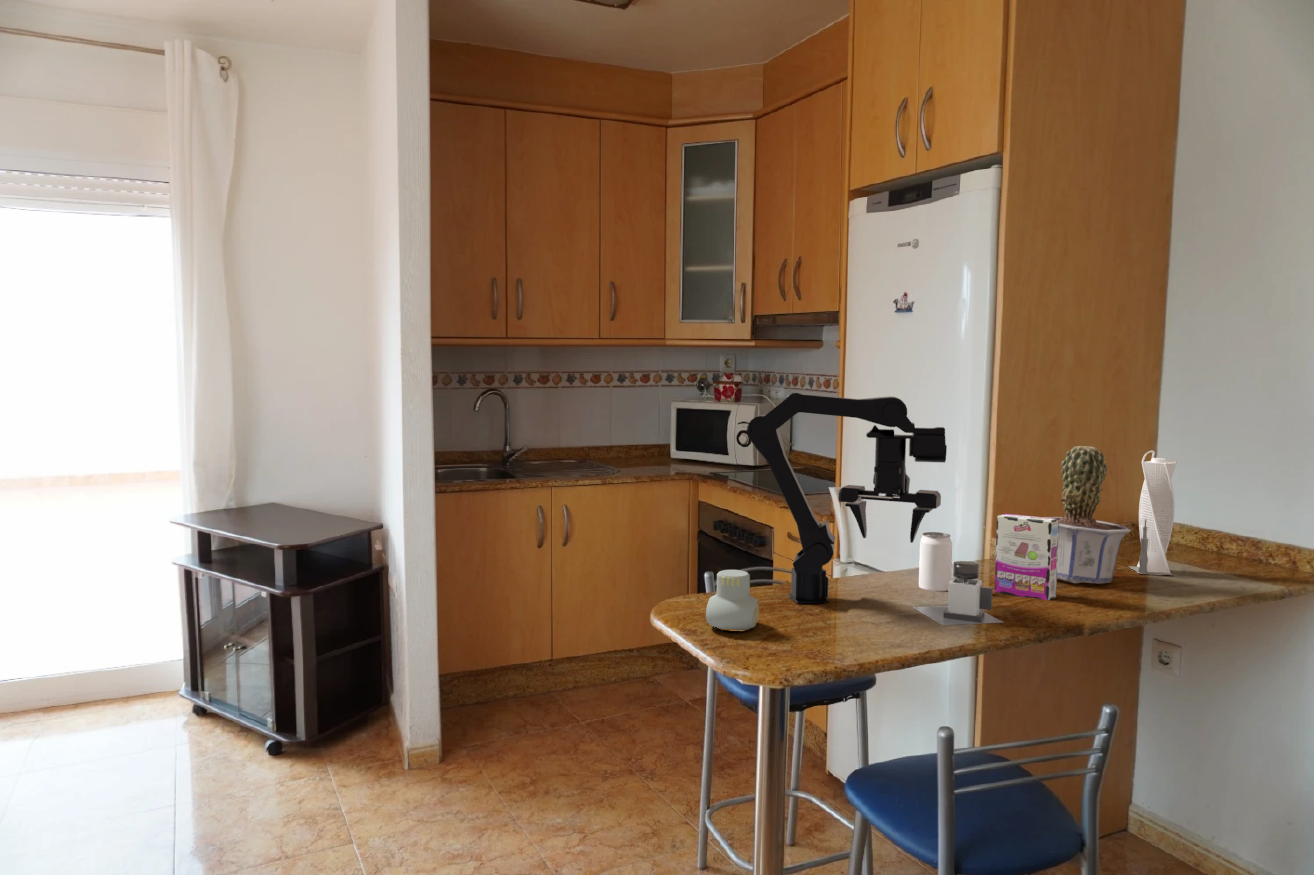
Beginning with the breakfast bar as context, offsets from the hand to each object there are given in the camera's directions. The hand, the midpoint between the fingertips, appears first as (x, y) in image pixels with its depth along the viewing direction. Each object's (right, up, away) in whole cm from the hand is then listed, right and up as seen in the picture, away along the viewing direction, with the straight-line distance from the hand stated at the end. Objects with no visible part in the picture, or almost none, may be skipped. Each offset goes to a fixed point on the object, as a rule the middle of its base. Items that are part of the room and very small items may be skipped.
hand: (888, 540), depth 173 cm
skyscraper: (+70, -11, +32) cm, 77 cm away
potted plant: (+49, -12, +23) cm, 55 cm away
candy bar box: (+31, -13, +10) cm, 35 cm away
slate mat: (+11, -14, -8) cm, 19 cm away
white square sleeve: (+12, -13, -9) cm, 20 cm away
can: (+13, -12, +13) cm, 22 cm away
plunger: (+12, -11, -9) cm, 19 cm away
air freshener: (-32, -14, -15) cm, 38 cm away
